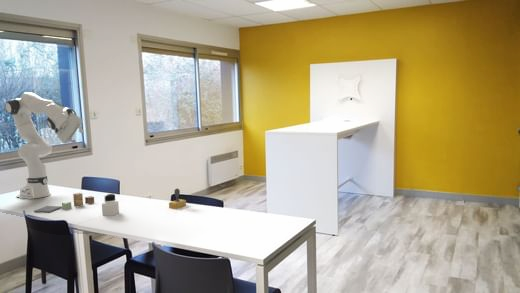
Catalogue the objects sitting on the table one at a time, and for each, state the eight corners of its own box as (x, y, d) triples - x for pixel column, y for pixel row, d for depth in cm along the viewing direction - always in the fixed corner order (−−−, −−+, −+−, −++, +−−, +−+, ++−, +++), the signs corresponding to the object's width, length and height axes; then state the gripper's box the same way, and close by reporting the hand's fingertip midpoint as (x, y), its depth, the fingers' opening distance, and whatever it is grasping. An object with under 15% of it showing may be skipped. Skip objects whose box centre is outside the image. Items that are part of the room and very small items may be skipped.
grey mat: (34, 212, 248) (34, 210, 247) (47, 207, 258) (47, 205, 258) (49, 212, 245) (49, 211, 245) (61, 207, 256) (61, 206, 256)
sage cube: (62, 208, 254) (61, 202, 254) (68, 207, 258) (67, 201, 257) (65, 209, 252) (65, 203, 252) (71, 208, 255) (71, 202, 255)
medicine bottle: (119, 212, 243) (117, 193, 242) (113, 215, 236) (112, 196, 235) (108, 212, 244) (106, 193, 242) (102, 215, 237) (100, 196, 235)
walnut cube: (85, 203, 267) (85, 197, 267) (90, 201, 271) (90, 196, 270) (88, 203, 265) (88, 198, 265) (94, 202, 268) (93, 196, 268)
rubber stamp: (175, 209, 248) (174, 190, 246) (168, 208, 251) (167, 189, 249) (186, 205, 256) (185, 187, 255) (179, 204, 259) (178, 186, 258)
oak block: (74, 205, 261) (73, 193, 260) (79, 204, 264) (78, 192, 263) (77, 206, 259) (76, 194, 258) (83, 205, 262) (82, 193, 261)
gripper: (75, 110, 256) (90, 124, 254) (60, 133, 262) (74, 148, 260) (68, 110, 250) (83, 125, 248) (53, 134, 256) (67, 149, 254)
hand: (78, 137), depth 254 cm, fingers open, 8 cm apart
